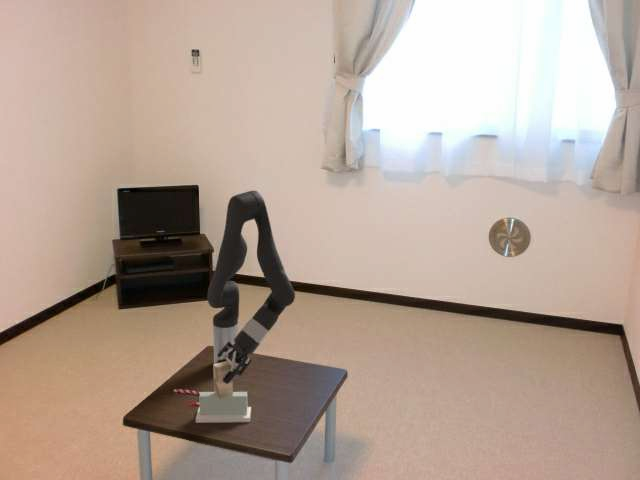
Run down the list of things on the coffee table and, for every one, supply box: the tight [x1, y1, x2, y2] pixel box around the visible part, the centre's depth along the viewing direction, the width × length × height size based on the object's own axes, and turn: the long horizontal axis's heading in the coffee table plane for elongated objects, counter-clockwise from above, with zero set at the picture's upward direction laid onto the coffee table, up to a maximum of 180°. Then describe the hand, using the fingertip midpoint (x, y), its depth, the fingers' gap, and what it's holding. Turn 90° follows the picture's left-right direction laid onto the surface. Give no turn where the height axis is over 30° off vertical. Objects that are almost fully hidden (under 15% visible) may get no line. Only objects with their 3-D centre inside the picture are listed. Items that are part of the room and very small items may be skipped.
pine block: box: [212, 361, 234, 399], centre depth 199 cm, size 4×4×10 cm
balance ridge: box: [195, 391, 252, 424], centre depth 201 cm, size 7×17×8 cm, turn 92°
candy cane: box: [173, 388, 201, 407], centre depth 214 cm, size 8×1×15 cm
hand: (219, 376), depth 198 cm, fingers open, 8 cm apart
